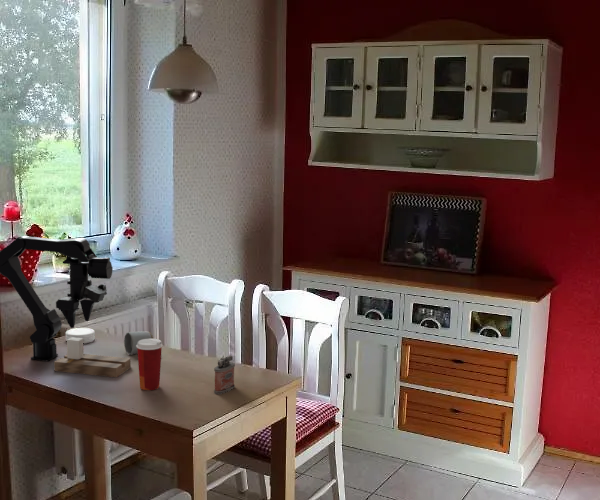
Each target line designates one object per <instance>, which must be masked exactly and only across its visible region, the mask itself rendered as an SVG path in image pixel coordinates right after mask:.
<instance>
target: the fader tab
mask: <svg viewBox="0 0 600 500" xmlns="http://www.w3.org/2000/svg"><path fill="white" fill-rule="evenodd" d="M84 354H85V353H84V344H83V338H73V337H71V338H69V339H68V340H67V342H66V355H67V358H70V359H76V360H78V359H80V358H82V357H84Z"/></svg>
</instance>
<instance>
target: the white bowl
mask: <svg viewBox="0 0 600 500" xmlns="http://www.w3.org/2000/svg"><path fill="white" fill-rule="evenodd" d="M95 333H96V332H95V330H94V329H92V328H89V327H77V328H75V327H74V328H71V329H68V330H66V331H65V342H66V341H67V340H68V339H69V338H71V337H73V338H83V343H84V344H88V343H89V344H90V343H92V342H94V341H95V339H96V338H95Z"/></svg>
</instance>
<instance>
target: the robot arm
mask: <svg viewBox="0 0 600 500" xmlns="http://www.w3.org/2000/svg"><path fill="white" fill-rule="evenodd" d="M26 250H29V251H30V250H31V251H38V252H39V251H40V252H41V251H43V252H51V253H58V254H61V255H63V256H66V259H64V261H62V264H64V265H69V280H67V281H66V285H69V292H68V293H67V296H64V297H61V298H59V299H57V300H56V301H55V308H56V309H58V310H59V311H60V312H61V313H62V316H64V318H65V321H66V322H67V323H68V325H69V327H70V328H71V329H74V328H75V325H76V313H77V311H79V309H80V307H81V310H82V314H83V318H84V321H86V322H89V320H90V318H91V314H92V312H93V311H92V310H93V308H94V305H95V304H96V303H99V302H101V301H103V300H104V298H105V296H106V295H108V293H107V286H106V284H104V283H101V284H99V285H98V286H97V285H93V283H92V279H102V280H103V279H106V280H108V279H109V280H110V279H111V278H112V275H113V265H112V262H111V258H110V257H98V256H97V255H96V254H95V252H94V250H93V249H92V248H91V245H90V242H89V241H88V239H86V238H85V237H76V238H75V237H74V238H66V239H58V238H57V239H56V238H46V237H39V236H38V237H36V236H28V235H21V236H20V235H19V236H18V237H16V238H15V239H14V240H13V241H12V242H11V243H9V244H8V245H6V246H5V247H4V248H2V250H0V274H1V275H2V276H3V277H6V278H7V279H8V281H9V282H10V283H11V285H12V288H13V289H14V290H15V291H16V293H17V295H18V296H19V298H20V299H21V300H22V301H23V304H24V305H25V306H26V308H27V309H28V311H29V312H30V314H31V315H32V321H33V325H34V328H35V331H34V332H33V333H32V334H30V336H29V339H30V341H31V343H32V352H33V353H32V354H33V355H32V356H31V357H30V360H34V361H35V360H36V361H44V362H47V361H48V362H49V361H50V360H52V359H54V358H56V357H58V356H59V354H58V353H57V352H58V351H57V343H56V338H55V337H56V336H57V334H58V332H59V331H61V329H62V325H63V323H62V321H61V320H62V317H60V315H59V314H58V313H57V310H56V309H55V308H53V309H49V308H47V307H46V306H45V304H44V303H43V301H42V300H41V298H40V297H39V296H38V294H37V293H36V291H35V289H34V288H33V286H32V284H31V283H30V282H29V280H28V278H27V277H26V276H25V274H24V272H23V271H22V267H21V261H20V259H19V257H20V256H21V255H22V254H23V253H24V252H25V251H26ZM89 277H90V278H91V279H89Z"/></svg>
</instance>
